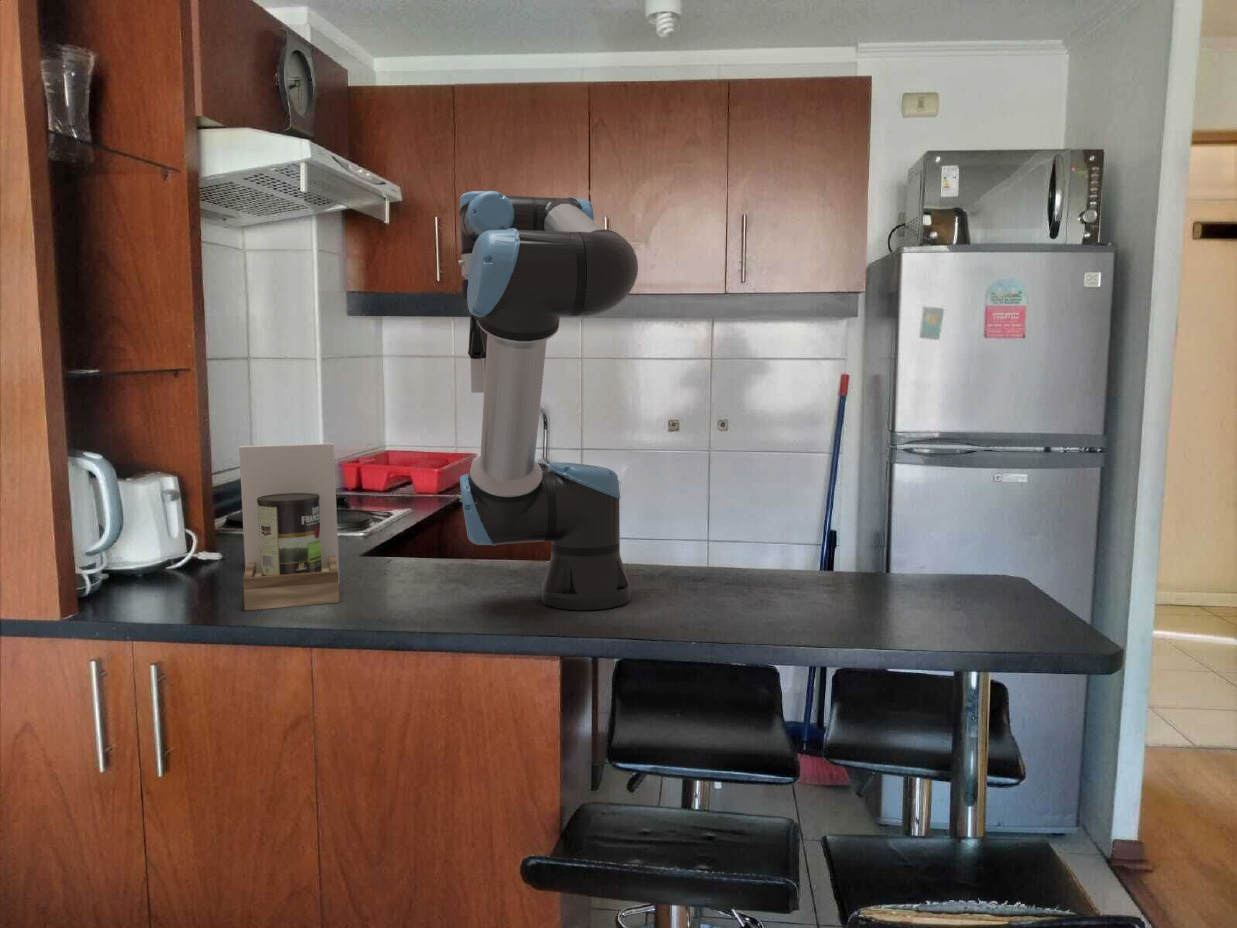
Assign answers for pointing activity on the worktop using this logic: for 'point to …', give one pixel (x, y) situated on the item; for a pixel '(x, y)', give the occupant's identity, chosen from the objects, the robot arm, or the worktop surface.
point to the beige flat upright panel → (288, 489)
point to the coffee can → (289, 533)
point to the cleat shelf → (290, 588)
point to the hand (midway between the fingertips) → (484, 393)
